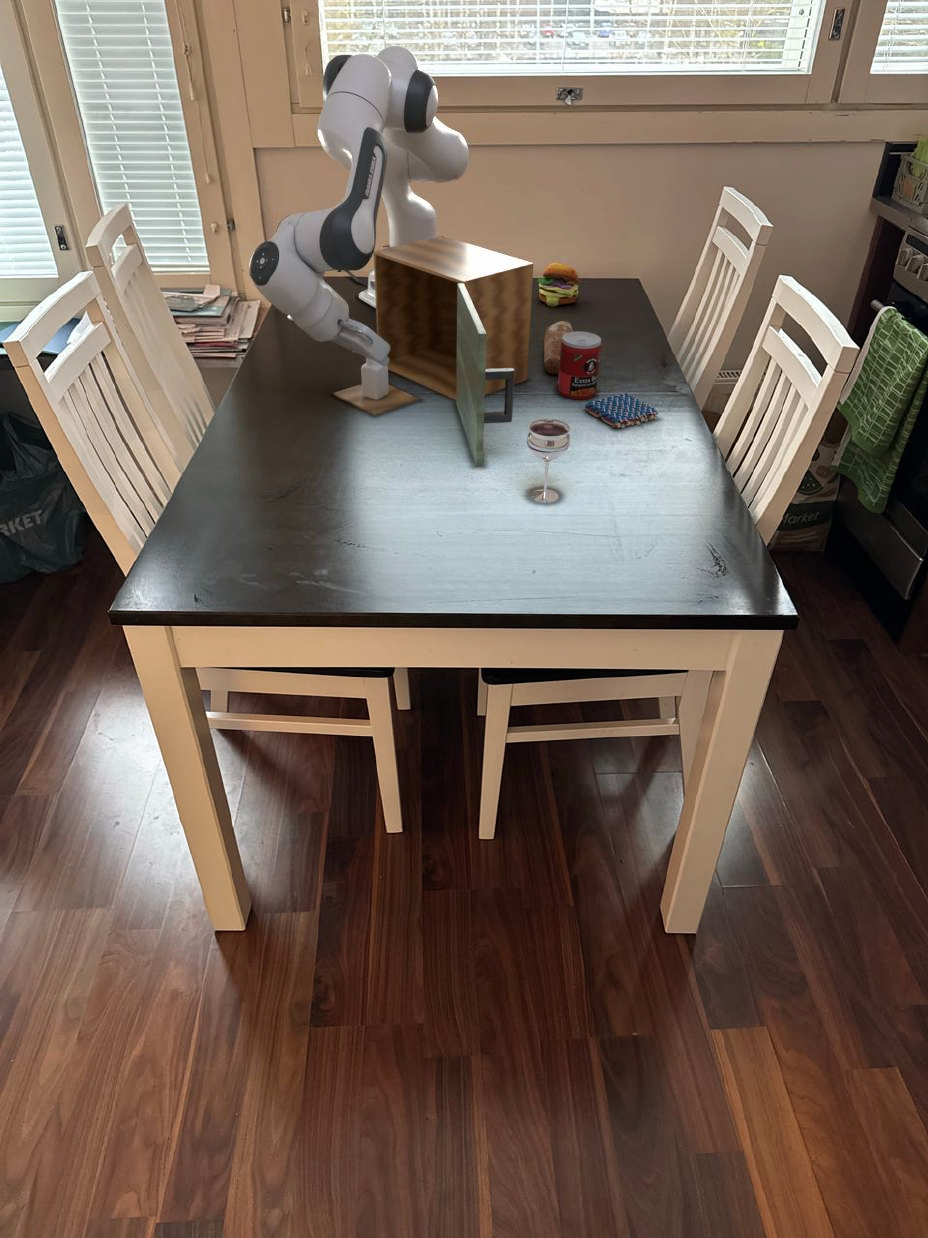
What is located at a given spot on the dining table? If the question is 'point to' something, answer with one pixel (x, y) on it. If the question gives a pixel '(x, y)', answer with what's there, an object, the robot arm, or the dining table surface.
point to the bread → (554, 345)
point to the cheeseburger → (558, 285)
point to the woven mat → (621, 410)
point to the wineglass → (547, 449)
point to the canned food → (579, 365)
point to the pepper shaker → (374, 380)
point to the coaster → (376, 406)
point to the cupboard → (451, 309)
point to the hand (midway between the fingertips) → (369, 355)
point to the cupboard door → (476, 376)
